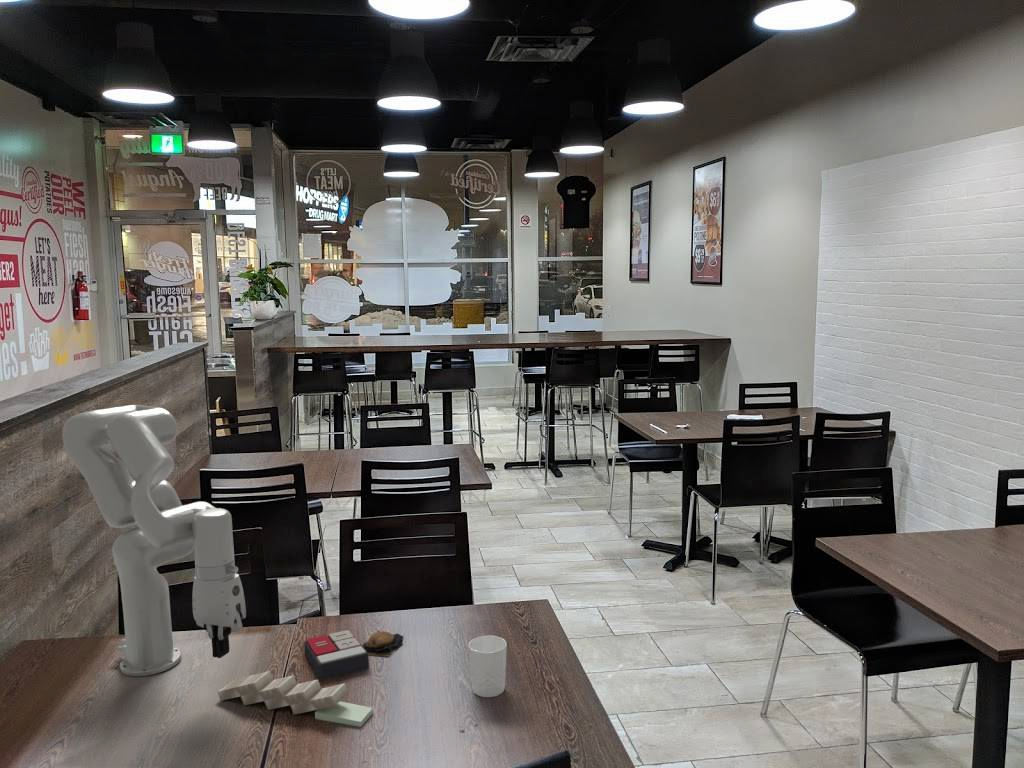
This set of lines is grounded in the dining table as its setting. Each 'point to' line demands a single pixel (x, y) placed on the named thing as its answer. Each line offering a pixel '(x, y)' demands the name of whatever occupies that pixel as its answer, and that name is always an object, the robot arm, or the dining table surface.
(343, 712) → the domino
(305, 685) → the domino
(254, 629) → the dining table surface
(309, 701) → the domino
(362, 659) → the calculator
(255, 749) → the dining table surface
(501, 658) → the white cup
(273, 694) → the domino
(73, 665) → the dining table surface
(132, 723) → the dining table surface
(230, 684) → the domino
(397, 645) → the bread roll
